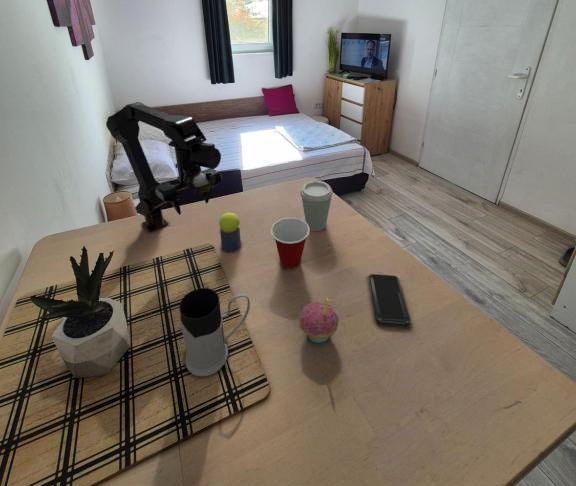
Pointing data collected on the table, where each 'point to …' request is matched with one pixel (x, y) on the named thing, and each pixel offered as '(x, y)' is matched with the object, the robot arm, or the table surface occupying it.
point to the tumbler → (230, 240)
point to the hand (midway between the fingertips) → (193, 208)
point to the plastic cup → (290, 240)
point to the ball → (229, 222)
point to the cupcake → (318, 321)
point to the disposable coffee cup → (316, 203)
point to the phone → (388, 300)
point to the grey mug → (205, 330)
